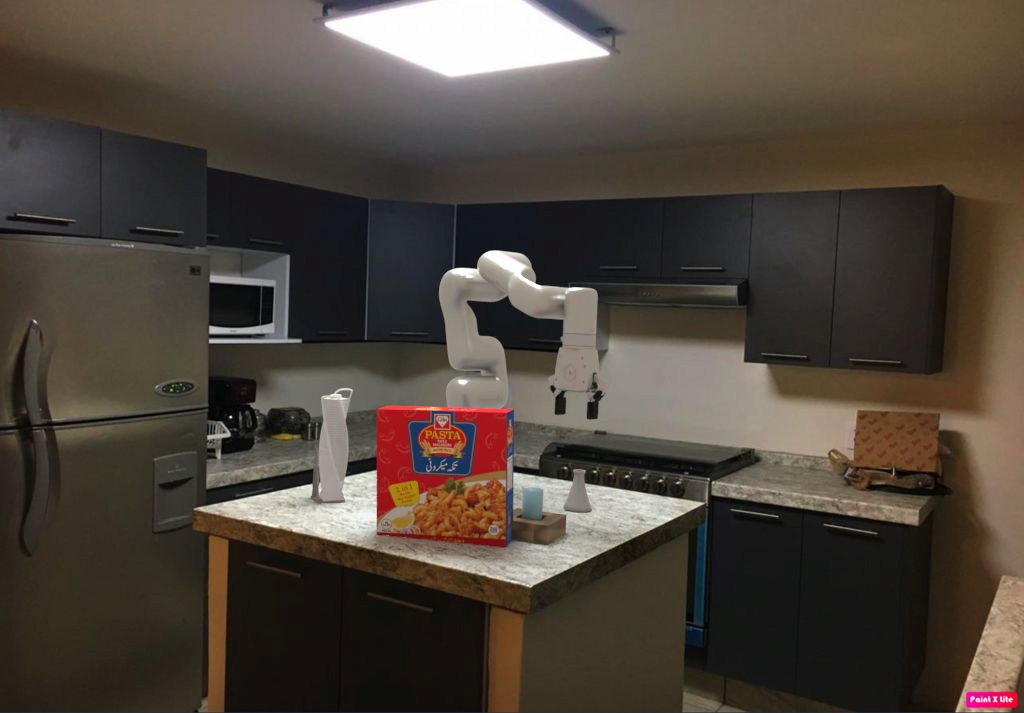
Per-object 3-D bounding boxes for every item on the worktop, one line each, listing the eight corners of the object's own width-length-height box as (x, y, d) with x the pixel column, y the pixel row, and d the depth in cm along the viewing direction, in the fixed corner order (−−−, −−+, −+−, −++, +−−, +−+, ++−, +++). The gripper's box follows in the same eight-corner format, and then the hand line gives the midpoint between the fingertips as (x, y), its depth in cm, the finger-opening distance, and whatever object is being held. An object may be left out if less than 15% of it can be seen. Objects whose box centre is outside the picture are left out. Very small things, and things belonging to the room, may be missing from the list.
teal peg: (517, 535, 185) (519, 490, 184) (525, 530, 189) (527, 486, 189) (536, 538, 183) (539, 492, 183) (544, 533, 187) (546, 489, 187)
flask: (590, 514, 209) (592, 473, 209) (561, 511, 211) (563, 471, 210) (593, 508, 216) (595, 469, 216) (565, 505, 218) (567, 466, 217)
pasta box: (376, 540, 180) (376, 409, 179) (389, 531, 188) (389, 405, 187) (505, 547, 174) (506, 412, 173) (512, 538, 182) (514, 409, 181)
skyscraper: (343, 495, 216) (348, 386, 215) (352, 502, 209) (356, 389, 208) (310, 497, 212) (314, 386, 211) (317, 504, 205) (322, 389, 204)
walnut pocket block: (495, 536, 183) (496, 518, 183) (516, 525, 194) (516, 507, 194) (547, 544, 178) (548, 525, 178) (565, 532, 189) (566, 514, 189)
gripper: (540, 340, 196) (537, 413, 196) (598, 343, 184) (594, 421, 184) (561, 340, 201) (558, 412, 202) (619, 343, 189) (615, 420, 190)
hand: (575, 416), depth 193 cm, fingers open, 9 cm apart
